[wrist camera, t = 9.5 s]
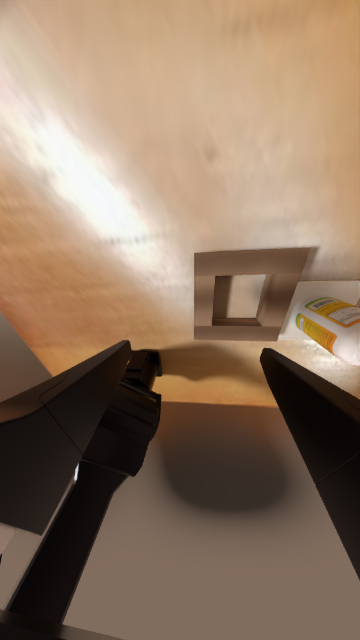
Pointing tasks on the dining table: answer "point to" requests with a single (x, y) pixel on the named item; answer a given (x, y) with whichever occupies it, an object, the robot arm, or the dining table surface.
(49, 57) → the dining table surface
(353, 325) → the supplement bottle
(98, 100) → the dining table surface
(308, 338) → the coaster
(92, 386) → the robot arm
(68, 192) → the dining table surface
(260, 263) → the block
